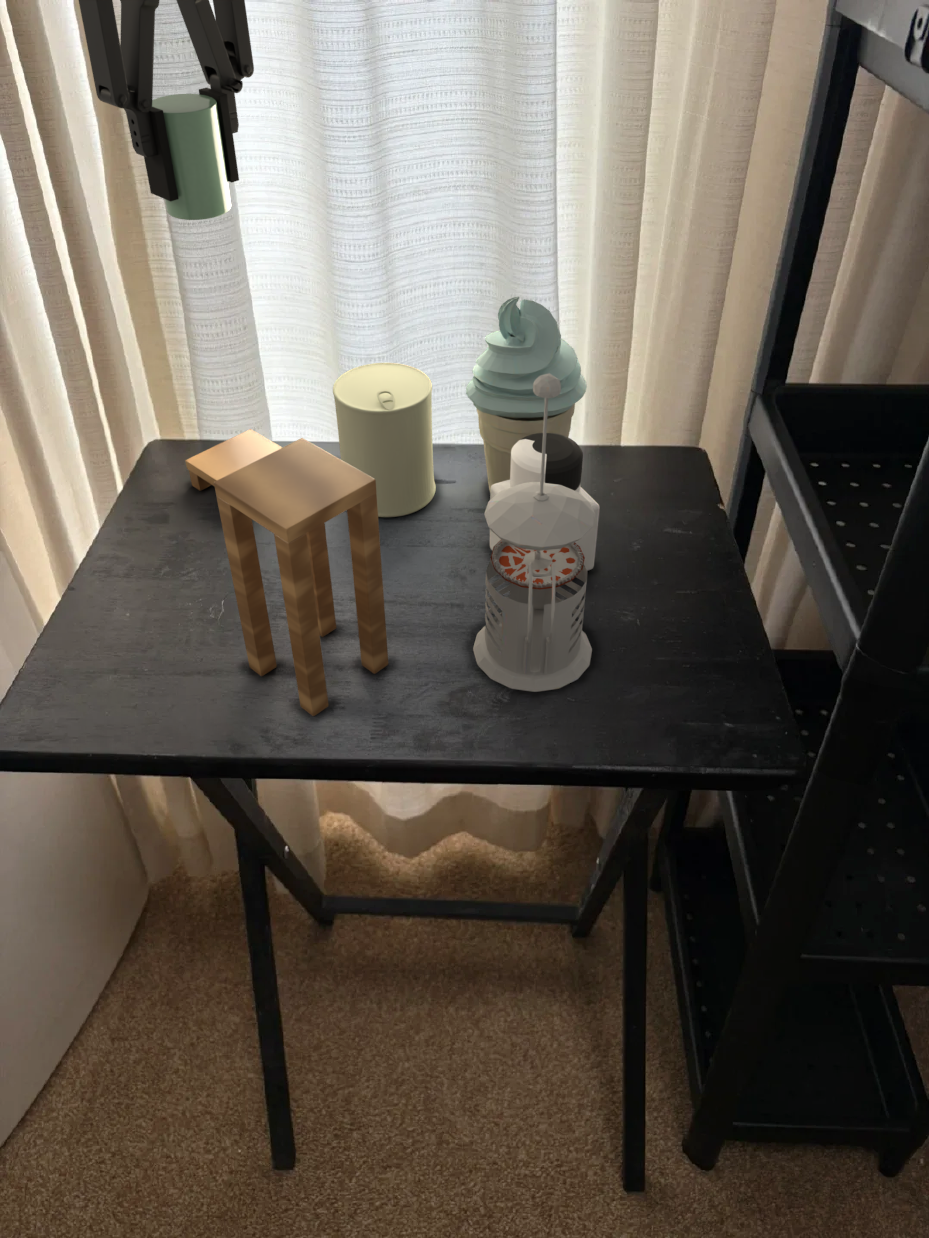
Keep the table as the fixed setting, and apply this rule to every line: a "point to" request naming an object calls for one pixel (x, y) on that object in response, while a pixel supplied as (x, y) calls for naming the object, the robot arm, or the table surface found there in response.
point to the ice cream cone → (522, 382)
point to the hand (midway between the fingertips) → (195, 186)
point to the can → (388, 432)
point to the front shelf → (303, 557)
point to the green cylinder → (195, 156)
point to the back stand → (228, 458)
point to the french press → (536, 580)
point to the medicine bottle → (550, 477)
